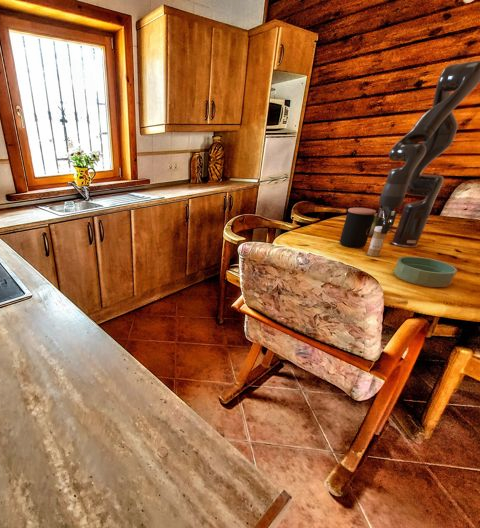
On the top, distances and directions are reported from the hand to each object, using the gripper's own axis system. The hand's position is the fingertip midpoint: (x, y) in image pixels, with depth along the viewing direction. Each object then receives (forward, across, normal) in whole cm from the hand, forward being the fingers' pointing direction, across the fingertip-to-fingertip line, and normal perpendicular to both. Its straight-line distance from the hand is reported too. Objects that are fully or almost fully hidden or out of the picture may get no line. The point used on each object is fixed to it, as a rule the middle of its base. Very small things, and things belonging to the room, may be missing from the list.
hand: (380, 231), depth 123 cm
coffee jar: (+12, +12, +6) cm, 18 cm away
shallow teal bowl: (+12, -22, -10) cm, 27 cm away
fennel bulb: (+12, +30, -4) cm, 33 cm away
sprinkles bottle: (+12, 0, 0) cm, 12 cm away
